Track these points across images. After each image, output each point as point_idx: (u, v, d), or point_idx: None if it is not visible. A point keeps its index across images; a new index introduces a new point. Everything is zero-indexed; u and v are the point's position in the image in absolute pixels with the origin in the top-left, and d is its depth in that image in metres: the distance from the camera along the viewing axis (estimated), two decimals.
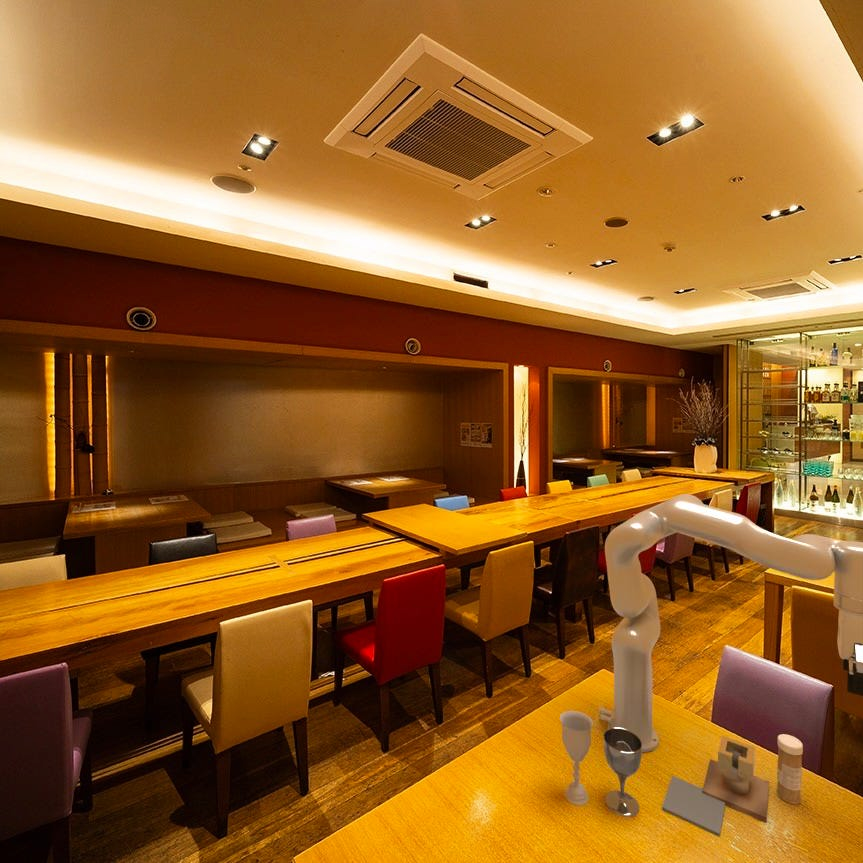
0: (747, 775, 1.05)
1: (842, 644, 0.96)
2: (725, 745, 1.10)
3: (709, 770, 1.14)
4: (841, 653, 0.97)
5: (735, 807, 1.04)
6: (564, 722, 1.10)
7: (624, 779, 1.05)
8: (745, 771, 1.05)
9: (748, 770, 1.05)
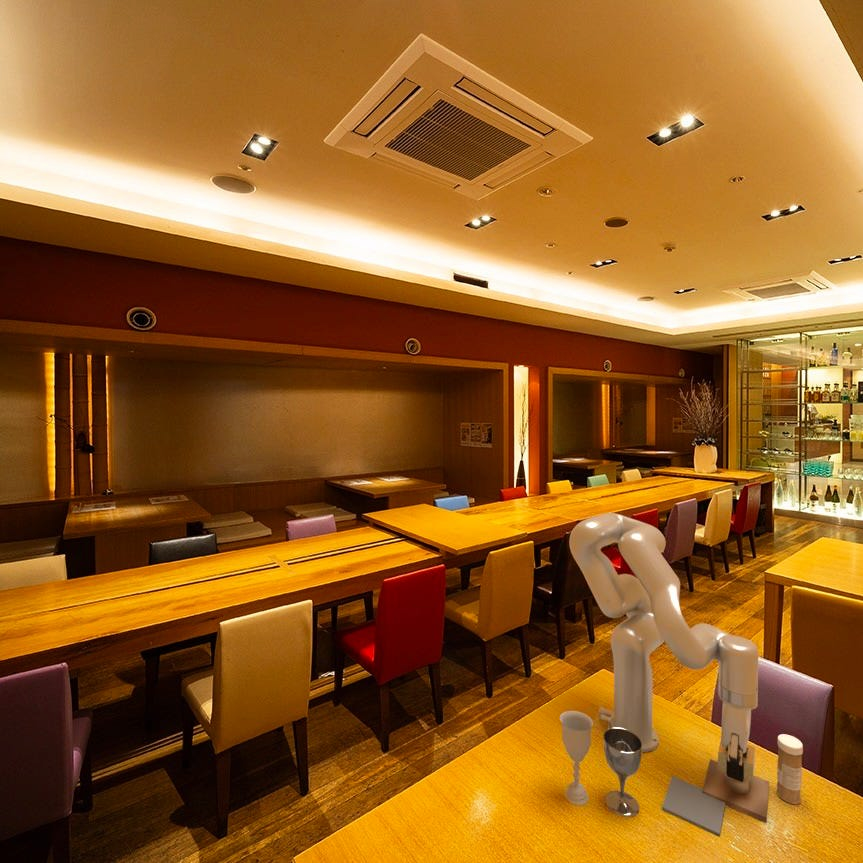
0: (747, 775, 1.05)
1: (722, 732, 1.06)
2: None
3: (709, 770, 1.14)
4: (721, 740, 1.07)
5: (735, 807, 1.04)
6: (564, 722, 1.10)
7: (624, 779, 1.05)
8: (745, 771, 1.05)
9: (748, 770, 1.05)
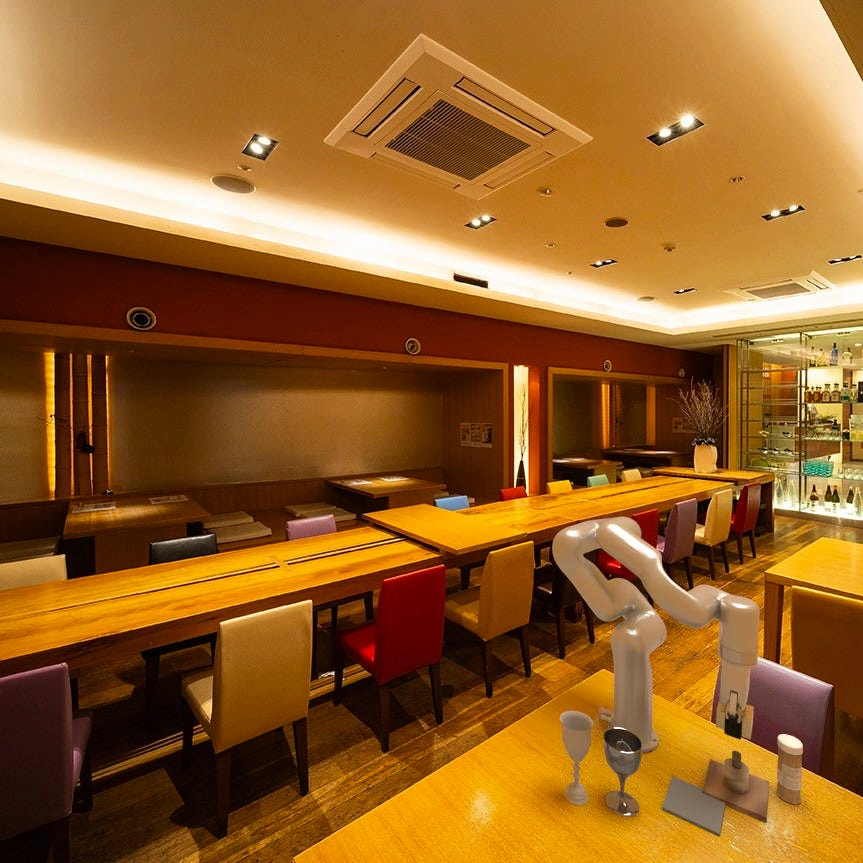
0: (745, 733, 1.05)
1: (721, 690, 1.06)
2: None
3: (709, 770, 1.14)
4: (720, 698, 1.06)
5: (735, 807, 1.04)
6: (564, 722, 1.10)
7: (624, 779, 1.05)
8: (743, 729, 1.05)
9: (746, 728, 1.05)
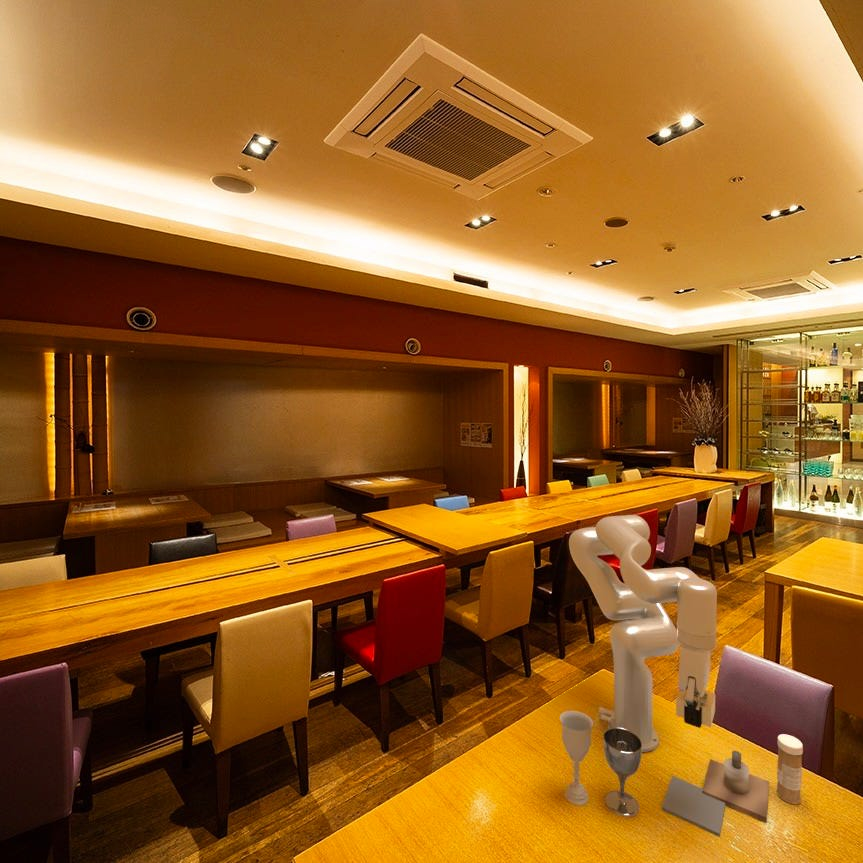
0: (705, 720, 1.00)
1: (679, 677, 1.02)
2: (684, 692, 1.06)
3: (709, 770, 1.14)
4: (678, 685, 1.02)
5: (735, 807, 1.04)
6: (564, 722, 1.10)
7: (624, 779, 1.05)
8: (703, 716, 1.01)
9: (706, 715, 1.00)
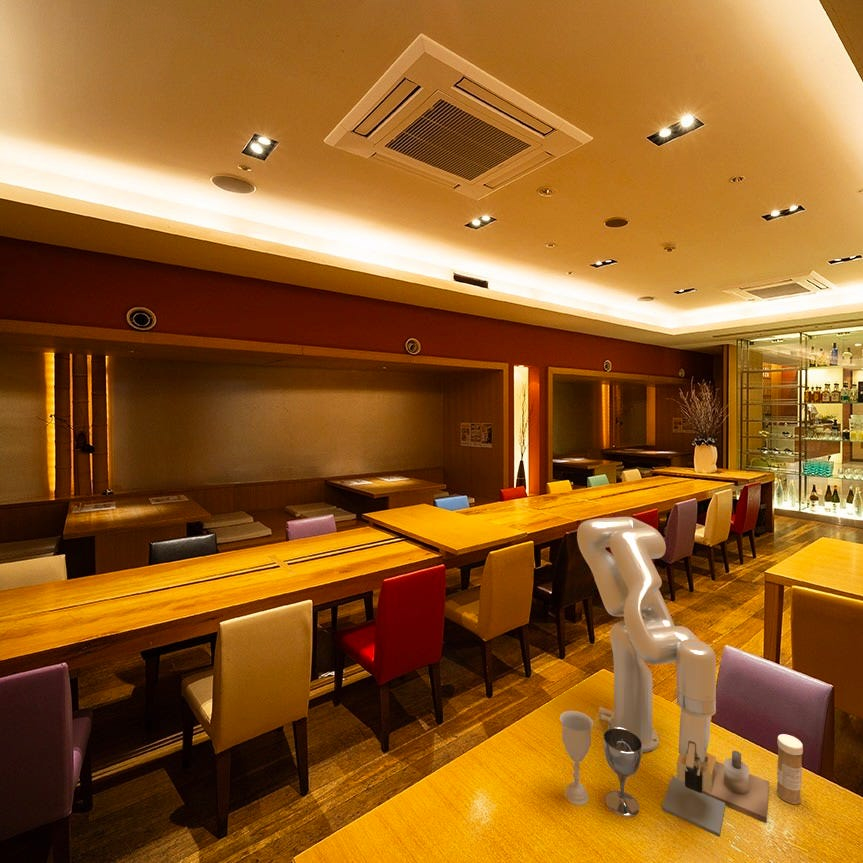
0: (706, 786, 1.01)
1: (679, 741, 1.02)
2: (685, 754, 1.06)
3: None
4: (679, 749, 1.03)
5: (735, 807, 1.04)
6: (564, 722, 1.10)
7: (624, 779, 1.05)
8: (704, 782, 1.01)
9: (707, 781, 1.01)
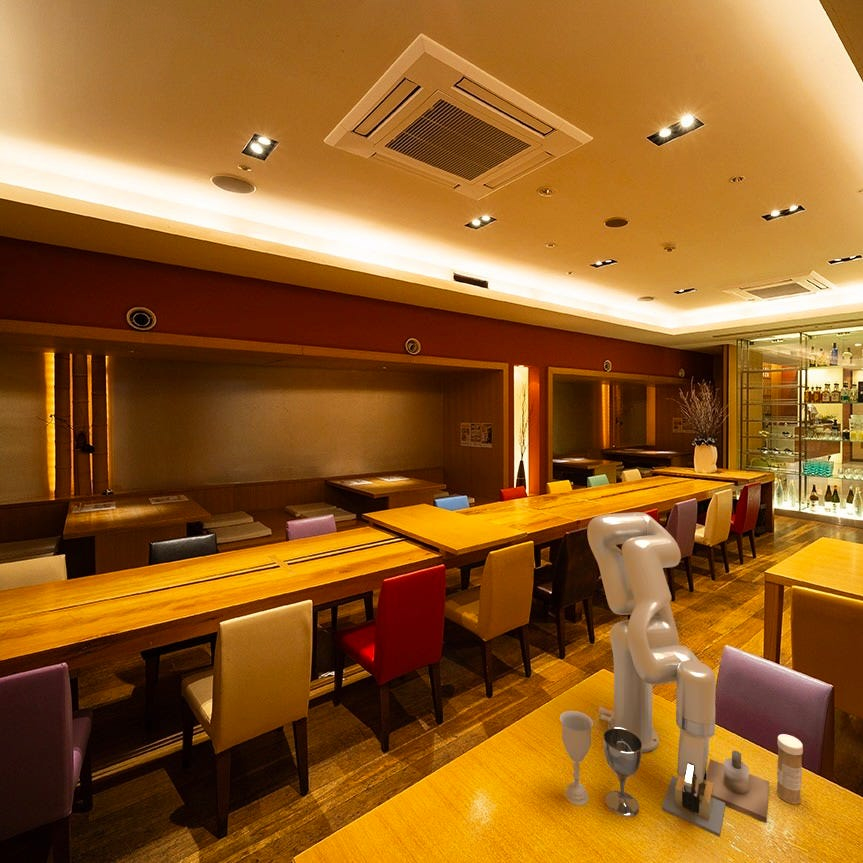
0: (703, 814, 1.02)
1: (678, 761, 1.03)
2: (683, 781, 1.07)
3: (709, 770, 1.14)
4: (677, 770, 1.03)
5: (735, 807, 1.04)
6: (564, 722, 1.10)
7: (624, 779, 1.05)
8: (701, 810, 1.02)
9: (705, 809, 1.01)
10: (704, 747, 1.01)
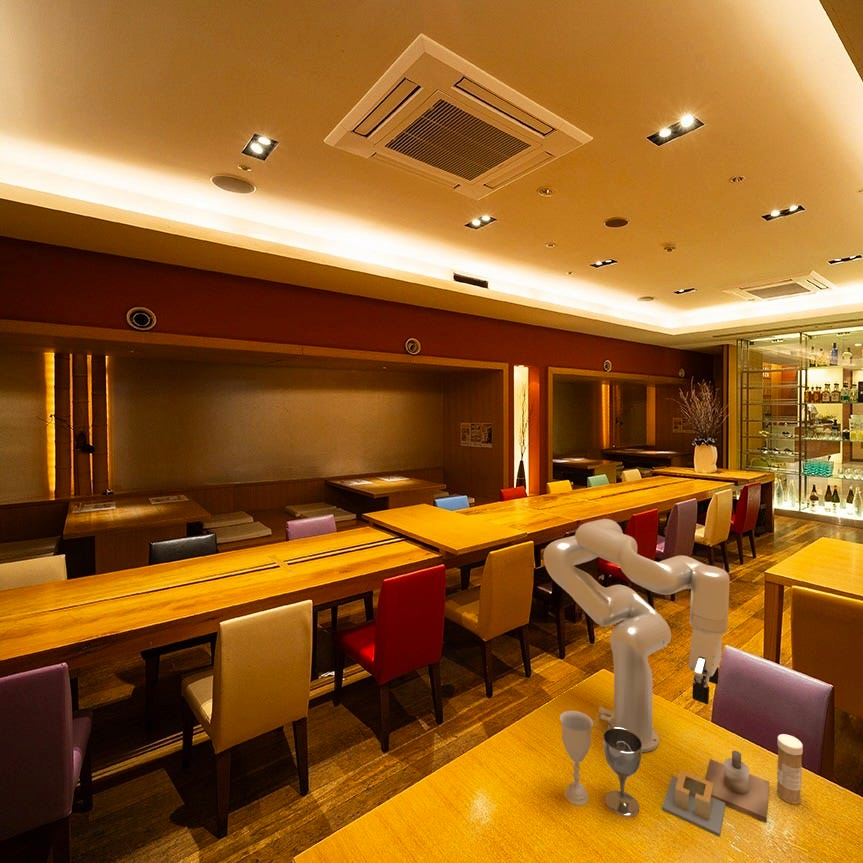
0: (703, 814, 1.02)
1: (690, 657, 1.08)
2: (683, 781, 1.07)
3: (709, 770, 1.14)
4: (689, 664, 1.09)
5: (735, 807, 1.04)
6: (564, 722, 1.10)
7: (624, 779, 1.05)
8: (701, 810, 1.02)
9: (705, 809, 1.01)
10: (715, 643, 1.06)
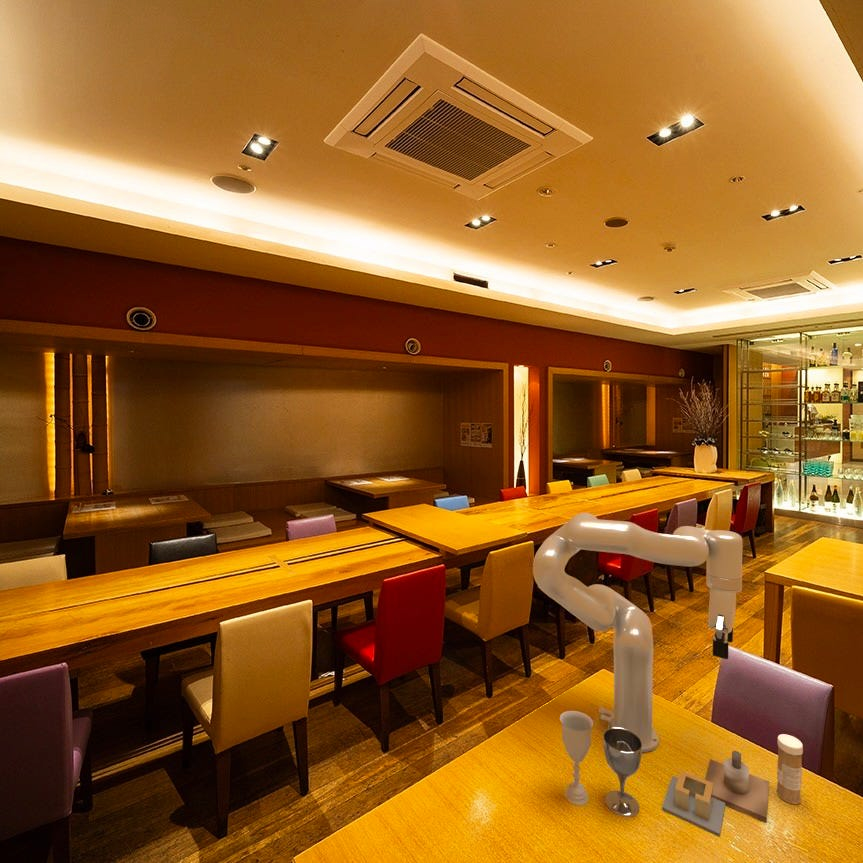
0: (703, 814, 1.02)
1: (709, 616, 1.15)
2: (683, 781, 1.07)
3: (709, 770, 1.14)
4: (708, 623, 1.16)
5: (735, 807, 1.04)
6: (564, 722, 1.10)
7: (624, 779, 1.05)
8: (701, 810, 1.02)
9: (705, 809, 1.01)
10: (732, 600, 1.14)
